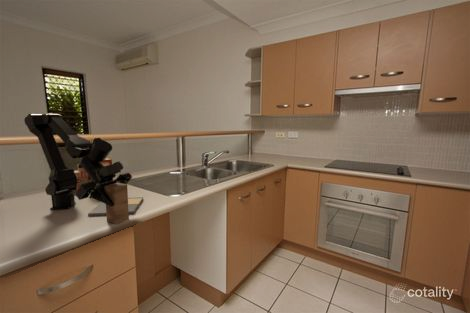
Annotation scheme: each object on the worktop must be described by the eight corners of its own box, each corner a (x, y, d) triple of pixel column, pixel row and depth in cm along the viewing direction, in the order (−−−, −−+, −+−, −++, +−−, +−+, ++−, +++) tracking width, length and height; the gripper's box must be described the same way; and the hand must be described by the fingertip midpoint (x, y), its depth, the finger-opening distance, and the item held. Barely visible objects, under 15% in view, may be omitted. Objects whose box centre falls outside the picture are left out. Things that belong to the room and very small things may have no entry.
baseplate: (88, 216, 83) (87, 213, 83) (105, 200, 99) (105, 198, 99) (133, 213, 86) (133, 211, 86) (143, 199, 102) (143, 197, 102)
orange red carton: (60, 193, 108) (58, 168, 106) (58, 190, 112) (55, 166, 110) (108, 184, 123) (107, 162, 121) (104, 182, 128) (103, 161, 126)
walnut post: (106, 221, 79) (104, 186, 77) (119, 216, 84) (117, 182, 82) (117, 224, 77) (115, 188, 75) (128, 218, 82) (127, 184, 80)
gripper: (78, 159, 70) (106, 198, 67) (127, 152, 87) (150, 183, 85) (64, 181, 74) (90, 218, 72) (114, 169, 91) (136, 199, 89)
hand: (119, 203), depth 79 cm, fingers closed on walnut post, 5 cm apart
